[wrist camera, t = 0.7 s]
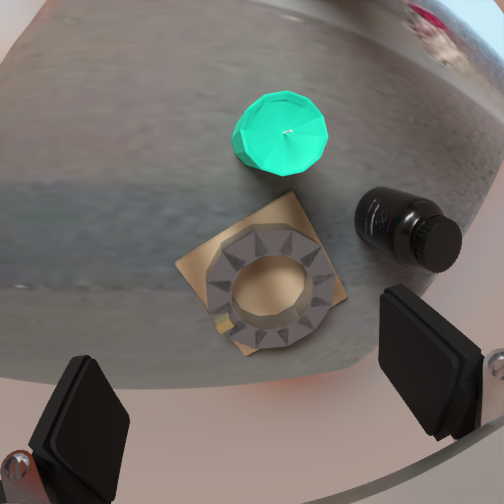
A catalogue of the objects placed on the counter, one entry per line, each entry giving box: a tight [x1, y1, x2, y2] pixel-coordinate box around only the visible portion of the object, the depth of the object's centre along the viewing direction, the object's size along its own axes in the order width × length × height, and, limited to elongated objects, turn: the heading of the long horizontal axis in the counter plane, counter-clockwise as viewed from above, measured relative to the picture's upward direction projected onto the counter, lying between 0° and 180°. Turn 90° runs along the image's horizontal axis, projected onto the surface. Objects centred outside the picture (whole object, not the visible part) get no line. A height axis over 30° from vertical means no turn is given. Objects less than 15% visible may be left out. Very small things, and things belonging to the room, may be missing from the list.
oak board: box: [175, 191, 348, 356], centre depth 33 cm, size 14×14×1 cm
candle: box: [231, 91, 328, 176], centre depth 24 cm, size 6×6×12 cm
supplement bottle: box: [355, 187, 462, 273], centre depth 28 cm, size 7×7×12 cm
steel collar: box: [206, 223, 336, 349], centre depth 31 cm, size 13×13×4 cm
